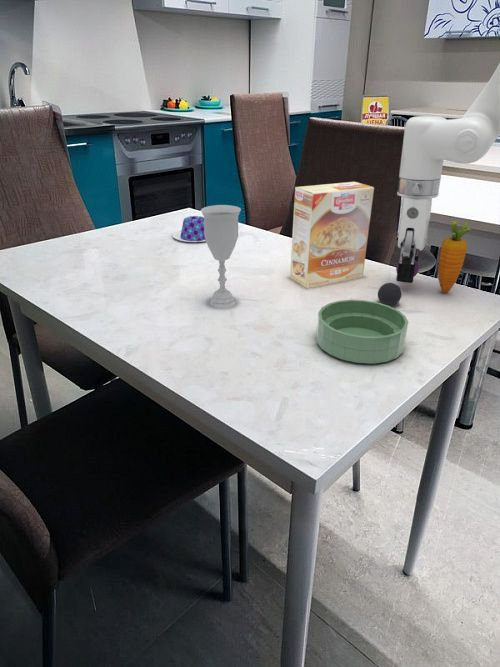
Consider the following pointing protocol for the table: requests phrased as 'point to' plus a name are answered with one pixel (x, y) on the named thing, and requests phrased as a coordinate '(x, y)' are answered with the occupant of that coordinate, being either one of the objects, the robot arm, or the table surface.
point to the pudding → (191, 230)
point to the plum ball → (415, 268)
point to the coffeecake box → (330, 232)
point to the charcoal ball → (389, 294)
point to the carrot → (452, 257)
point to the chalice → (221, 244)
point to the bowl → (361, 331)
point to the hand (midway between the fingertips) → (406, 276)
